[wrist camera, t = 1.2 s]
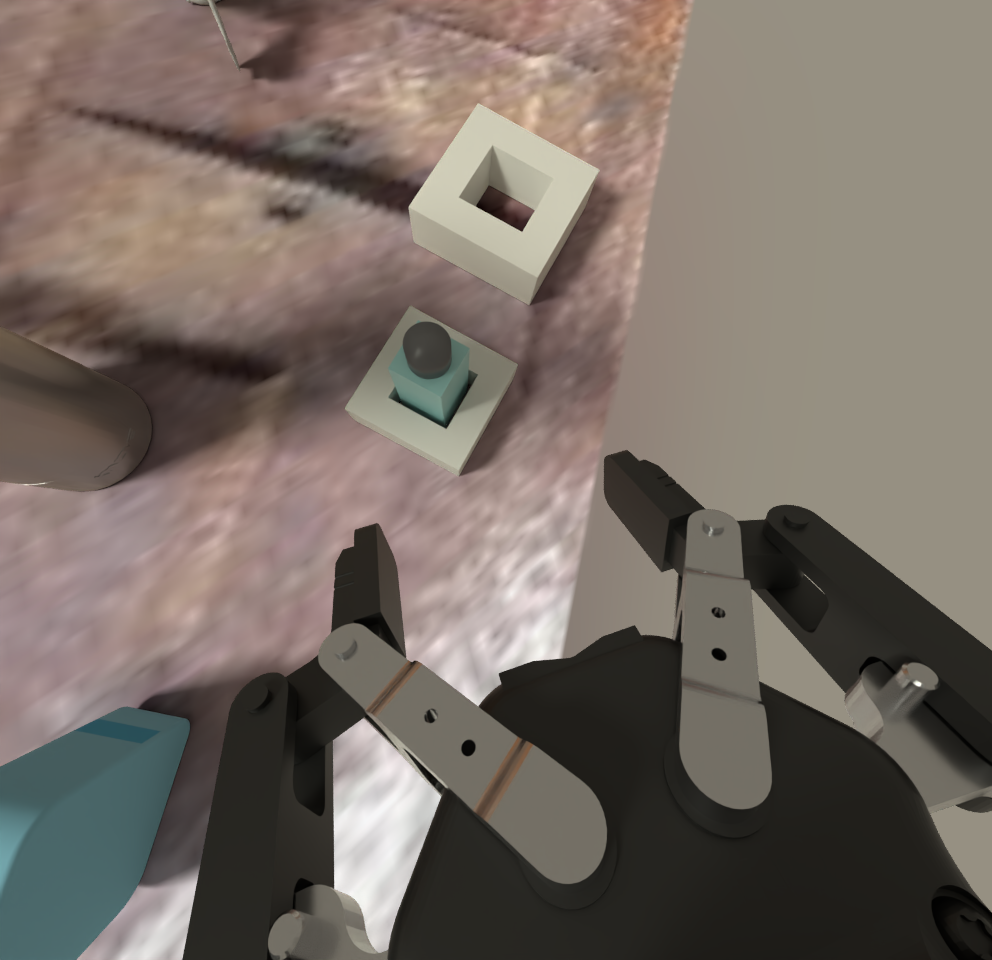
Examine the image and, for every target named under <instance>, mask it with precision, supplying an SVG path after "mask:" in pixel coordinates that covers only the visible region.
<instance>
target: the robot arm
mask: <svg viewBox="0 0 992 960" xmlns="http://www.w3.org/2000/svg"><path fill="white" fill-rule="evenodd" d="M151 433H152V424H151V417H150V414H149V411H148V409H147V406H146V404H145V403H144V402H143V400H142V399H141V398H140V396H139V395H138V394H136V393H135V392H134V391H133V390H132V389H131V388H129V387H127V386H125V385H123V384H121V383H119V382H117V381H115V380H113V379H111V378H109V377H107V376H105V375H102V374H100V373H98V372H96V371H94V370H92V369H90V368H88V367H85V366H83V365H82V364H80V363H77V362H75V361H73V360H71V359H69V358H67V357H65V356H63V355H60V354H58V353H56V352H54V351H52V350H50V349H48V348H46V347H43V346H41V345H39V344H37V343H35V342H33V341H31V340H29V339H26V338H24V337H22V336H20V335H18V334H16V333H14V332H11V331H9V330H7V329H5V328H3V327H1V326H0V482H7V483H14V484H21V485H29V486H36V487H44V488H52V489H59V490H67V491H78V492H84V491H93V490H98V489H101V488H105V487H108V486H110V485H112V484H114V483H116V482H118V481H120V480H122V479H123V478H124V477H126V476H127V475H128V474H129V473H131V472H132V471H133V470H134V469H135V468H136V466H137V465H138V464H139V463H140V462H141V460H142V459H143V457H144V455H145V453H146V452H147V450H148V446H149V443H150V440H151ZM604 494H605V498H606V500H607V503H608V505H609V506H610V508H611V509H612V510H613V511H614V513H615V514H616V515H617V516H618V518H619V519H620V520H621V522H622V523H623V524H624V525H625V527H626V528H627V529H628V530H629V532H630V533H631V534H632V535H633V537H634V538H635V539H636V541H637V542H638V543H639V544H640V546H641V547H642V548H643V549H644V551H645V552H646V553H647V554H648V556H649V557H650V558H651V560H652V561H653V562H654V563H655V565H656V566H657V567H658V568H659V570H660V571H661V572H664V571H667V570H670V569H673V568H674V569H675V570H676V572H677V573H678V578H677V589H676V601H675V615H674V628H673V636H672V639H670V638H666V637H660V636H652V635H640V633H639V631H638V630H637V628H636V627H635V626H631V627H629V628H626V629H623V630H620V631H617V632H614V633H612V634H609V635H606V636H603V637H601V638H600V639H599V640H597V641H596V642H594V643H593V644H591V645H590V646H588V647H587V648H586V649H584V650H583V651H581V652H580V653H578V654H577V655H576V656H574V657H571V658H566V659H553V660H542V661H532V662H530V663H527V664H524V665H521V666H518V667H515V668H513V669H510V670H507V671H504V672H501V673H499V677H500V680H501V685H499V686H498V687H497V688H495V689H494V690H493V691H492V692H491V693H490V694H488V695H487V696H486V698H485V699H484V700H483V701H482V702H481V704H480V705H479V707H478V706H477V705H475V704H474V703H473V702H471V701H470V700H469V699H467V698H466V697H465V696H464V695H462V694H461V693H460V692H458V691H457V690H456V689H454V688H453V687H452V686H450V685H449V684H448V683H447V682H445V681H444V680H443V679H441V678H440V677H439V676H437V675H436V674H435V673H433V672H432V671H431V670H430V669H428V668H427V667H426V666H424V665H423V664H421V663H420V662H418V661H413V662H410V661H409V660H407V659H406V651H405V641H404V631H403V621H402V611H401V601H400V591H399V581H398V571H397V566H396V562H395V559H394V556H393V553H392V551H391V549H390V547H389V545H388V542H387V540H386V538H385V536H384V534H383V531H382V529H381V527H380V525H379V524H378V523H376V524H373V525H369V526H366V527H363V528H359V529H356V530H355V532H354V547H350V548H347V549H344V550H343V551H342V552H341V554H340V556H339V558H338V560H337V562H336V567H335V582H334V588H335V590H334V598H333V614H332V630H331V634H330V635H329V636H328V637H327V638H326V639H325V640H324V642H323V643H322V645H321V647H320V650H319V654H318V655H317V656H316V657H315V658H314V659H313V660H312V661H310V662H309V663H307V664H306V665H304V666H303V667H301V668H299V669H298V670H296V671H295V672H293V673H292V674H290V675H288V676H287V677H284V676H283V675H281V674H279V673H267V674H263V675H261V676H259V677H257V678H255V679H254V680H252V681H251V682H249V683H248V684H247V685H246V686H245V687H244V688H243V689H242V690H241V691H240V692H239V694H238V695H237V696H236V698H235V700H234V701H233V703H232V706H231V708H230V712H229V717H228V723H227V728H226V733H225V738H224V744H223V749H222V754H221V759H220V765H219V770H218V775H217V780H216V786H215V791H214V796H213V802H212V807H211V812H210V817H209V823H208V828H207V833H206V838H205V844H204V849H203V854H202V860H201V865H200V870H199V875H198V881H197V886H196V891H195V896H194V902H193V907H192V912H191V917H190V923H189V928H188V933H187V939H186V944H185V949H184V954H183V960H992V912H991V911H990V910H989V909H988V908H987V907H986V906H985V905H984V903H983V902H982V901H981V900H980V898H979V897H978V896H977V895H976V894H975V892H974V891H973V890H972V888H971V887H970V885H969V884H968V882H967V881H966V879H965V878H964V877H963V875H962V873H961V872H960V870H959V869H958V867H957V865H956V864H955V862H954V860H953V859H952V857H951V855H950V854H949V852H948V850H947V849H946V847H945V845H944V843H943V841H942V839H941V837H940V835H939V833H938V831H937V829H936V826H935V825H934V822H933V820H932V817H931V815H930V814H931V813H933V812H937V811H939V810H942V809H945V808H948V807H951V806H954V805H956V806H958V807H960V808H962V809H965V810H968V811H972V812H979V813H983V812H989V811H992V651H991V650H990V649H989V648H988V647H986V646H985V645H984V644H982V643H981V642H980V641H979V640H977V639H976V638H975V637H974V636H972V635H971V634H969V633H968V632H967V631H966V630H965V629H963V628H962V627H961V626H959V625H958V624H957V623H955V622H954V621H953V620H952V619H950V618H949V617H948V616H946V615H945V614H944V613H943V612H941V611H940V610H939V609H938V608H936V607H935V606H934V605H932V604H931V603H930V602H929V601H927V600H926V599H925V598H923V597H922V596H921V595H920V594H918V593H917V592H916V591H914V590H913V589H912V588H911V587H909V586H908V585H907V584H905V583H904V582H903V581H902V580H900V579H899V578H898V577H896V576H895V575H894V574H893V573H891V572H890V571H889V570H887V569H886V568H885V567H884V566H882V565H881V564H880V563H878V562H877V561H876V560H875V559H873V558H872V557H871V556H869V555H868V554H867V553H865V552H864V551H863V550H862V549H860V548H859V547H858V546H856V545H855V544H854V543H852V542H851V541H850V540H848V538H846V537H845V536H844V535H842V534H841V533H840V532H838V531H837V530H836V529H835V528H833V527H832V526H831V525H830V524H828V523H827V522H826V521H824V520H823V519H822V518H821V517H819V516H818V515H816V514H815V513H814V512H812V511H810V510H808V509H805V508H802V507H799V506H794V505H780V506H776V507H773V508H772V509H771V510H769V512H768V513H767V517H766V519H765V520H748V521H736V520H735V519H734V518H733V517H731V516H730V515H728V514H726V513H724V512H721V511H717V510H711V509H705V508H704V507H703V506H702V505H700V504H699V503H698V502H697V501H696V500H695V499H694V498H693V497H692V496H691V495H690V494H688V493H687V492H686V491H685V490H684V489H683V488H682V487H681V486H680V485H679V484H676V482H675V480H673V479H672V478H671V477H669V476H668V474H667V473H666V472H665V471H664V470H663V469H661V468H660V467H659V466H658V465H656V464H653V463H651V462H649V461H647V460H642V461H638V460H637V458H635V457H634V456H633V455H632V454H631V453H630V452H629V451H627V450H625V451H622V452H618V453H615V454H611V455H608V456H606V457H605V459H604ZM804 574H805V575H806V576H807V577H809V578H810V579H811V580H812V581H813V582H814V583H815V584H816V585H817V586H818V587H819V588H820V589H821V590H822V591H823V592H824V593H825V594H824V593H823V592H821V591H820V590H819V589H818V588H817V587H816V586H815V585H814V584H813V583H812V582H811V581H810V580H809V579H808V578H807V577H806V576H805V575H804ZM751 589H753V590H754V591H755V592H756V593H757V594H758V596H759V597H760V598H761V599H762V600H763V601H764V602H765V603H766V604H767V606H768V607H769V608H770V609H771V610H772V611H773V612H774V613H775V615H776V616H777V617H778V618H779V619H780V620H781V621H782V622H783V624H784V625H785V626H786V627H787V628H788V629H789V630H790V631H791V633H792V634H793V635H794V636H795V637H796V638H797V639H798V640H799V642H800V643H801V644H802V645H803V646H804V647H805V648H806V649H807V650H808V652H809V653H810V654H811V655H812V656H813V657H814V658H815V659H816V661H817V662H818V663H819V664H820V665H821V666H822V667H823V668H824V669H825V671H826V672H827V673H828V674H829V675H830V676H831V677H832V679H833V680H834V681H835V682H836V683H837V684H838V685H839V686H840V687H841V689H843V691H844V692H845V693H846V694H845V700H844V701H845V706H846V709H847V712H848V713H849V715H850V717H851V718H852V720H853V725H854V728H855V729H853V728H851V727H850V726H848V725H846V724H844V723H842V722H840V721H838V720H836V719H834V718H832V717H830V716H828V715H826V714H824V713H822V712H820V711H818V710H816V709H814V708H812V707H810V706H808V705H806V704H804V703H802V702H800V701H798V700H796V699H793V698H792V697H790V696H788V695H786V694H784V693H782V692H779V691H778V690H775V689H774V688H772V687H769V686H768V685H766V684H764V683H762V682H760V681H759V676H758V665H757V653H756V641H755V630H754V619H753V606H752V595H751ZM363 718H364V719H365V720H366V721H367V722H368V723H369V724H370V725H371V726H372V727H373V728H374V729H375V730H376V731H377V732H378V733H379V734H380V735H381V736H382V737H383V738H384V739H385V740H386V741H387V742H388V743H389V744H390V745H391V746H392V747H393V748H394V749H395V750H396V751H397V752H398V753H399V754H401V756H402V757H403V758H404V759H405V760H406V761H407V762H408V763H409V764H410V765H411V766H412V767H413V768H414V769H415V771H416V772H417V773H418V774H419V775H420V776H421V777H422V778H423V779H424V780H425V781H426V782H427V783H428V784H429V785H430V786H431V787H432V788H433V789H434V790H435V791H436V792H437V793H438V794H439V795H440V796H441V799H440V802H439V804H438V807H437V810H436V812H435V815H434V818H433V820H432V823H431V826H430V828H429V831H428V833H427V836H426V839H425V841H424V844H423V847H422V849H421V852H420V855H419V857H418V860H417V862H416V865H415V868H414V870H413V873H412V876H411V878H410V881H409V884H408V886H407V889H406V892H405V894H404V897H403V899H402V902H401V905H400V907H399V910H398V913H397V916H396V919H395V922H394V925H393V929H392V933H391V938H390V943H389V949H388V950H387V951H385V952H382V953H378V952H377V951H376V950H375V949H374V948H373V947H372V945H371V943H370V941H369V939H368V937H367V934H366V929H365V924H364V918H363V914H362V911H361V908H360V906H359V904H358V903H357V902H356V901H355V899H353V898H352V897H351V896H349V895H347V894H344V893H342V892H340V891H338V890H335V889H334V821H333V740H334V739H335V738H337V737H338V736H339V735H341V734H342V733H343V732H345V731H346V730H348V729H349V728H350V727H352V726H353V725H354V724H356V723H357V722H358V721H360V720H361V719H363Z"/></svg>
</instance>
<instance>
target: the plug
mask: <svg viewBox="0 0 992 960" xmlns="http://www.w3.org/2000/svg"><path fill="white" fill-rule="evenodd" d="M469 353H470V348H468V347H467V346H465V345H463V344H461V343H459V342H457V341H456V340H454V339H452V338H450V336H449V334H448V333H447V331H446V330H445V329H444V328H443V327H442V326H440V325H439V324H436V323H434V322H421V321H419V320H418V321H417V322H416V324H414V325H413V326H411V327H410V328H409V329H408V330H407V332H406V333H405V335H404V338H403V345H402V346H401V348H400V350H399V351H398V353H397V354H396V356H395V358H394V359H393V361H392V362H391V364H390V366H389V367H388V370H389V372H390V375H391V377H392V380H393V382H394V385H395V387H396V390H397V392H398V394H399V397H400V399H401V402H402V404H403V406H405V407H406V408H408V409H410V410H412V411H414V412H416V413H418V414H419V415H421V416H423V417H425V418H427V419H429V420H430V421H432V422H434V423H436V424H438V425H440V426H442V427H443V428H445V429H446V427H447V425H448V423H449V422H450V420H451V418H452V416H453V415H454V413H455V411H456V410H457V408H458V406H459V404H460V403H461V401H462V399H463V397H464V396H465V394H466V392H467V387H468V370H469Z"/></svg>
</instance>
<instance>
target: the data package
mask: <svg viewBox="0 0 992 960" xmlns="http://www.w3.org/2000/svg"><path fill="white" fill-rule="evenodd" d="M189 732H190V723H189V721H188V719H186V718H181V717H176V716H171V715H166V714H161V713H156V712H151V711H146V710H141V709H136V708H131V707H122V708H119V709H117V710H115V711H113V712H111V713H109V714H107V715H105V716H103V717H101V718H99V719H97V720H95V721H93V722H90V723H88V724H86V725H84V726H82V727H80V728H78V729H76V730H74V731H72V732H70V733H68V734H66V735H64V736H62V737H60V738H58V739H56V740H54V741H52V742H50V743H48V744H46V745H44V746H42V747H40V748H38V749H35V750H33V751H31V752H29V753H27V754H25V755H23V756H21V757H19V758H17V759H15V760H13V761H11V762H9V763H7V764H5V765H3V766H1V767H0V960H77V958H78V957H79V956H80V955H81V954H82V953H83V952H84V951H85V950H86V949H87V947H88V946H89V945H90V944H91V943H92V942H93V941H94V940H95V939H96V938H97V937H98V935H99V934H100V933H101V932H102V931H103V930H104V929H105V928H106V927H107V926H108V925H109V923H110V922H111V921H112V920H113V919H114V918H115V917H116V916H117V915H118V914H119V912H120V911H121V910H122V909H123V908H124V906H125V905H126V904H127V902H128V901H129V899H130V898H131V896H132V894H133V893H134V891H135V889H136V887H137V886H138V884H139V882H140V880H141V877H142V875H143V873H144V870H145V867H146V864H147V861H148V858H149V855H150V852H151V849H152V846H153V843H154V839H155V836H156V833H157V830H158V827H159V824H160V821H161V818H162V815H163V812H164V809H165V806H166V803H167V800H168V797H169V794H170V791H171V787H172V784H173V781H174V778H175V775H176V772H177V769H178V766H179V763H180V760H181V757H182V754H183V751H184V748H185V745H186V742H187V739H188V735H189Z"/></svg>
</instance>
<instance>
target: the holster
mask: <svg viewBox="0 0 992 960" xmlns="http://www.w3.org/2000/svg"><path fill="white" fill-rule="evenodd" d="M418 320H419V321H421V322H434V323H436V324H439V325H440V326H442V327H443V328H444V329H445V330H446V331H447V333H448V334H449V336H450V338H452V339H454V340H456V341H457V342H459V343H461V344H463V345H465V346H467V347H468V348H470V353H469V370H468V384H470V385H471V388H470V390H469V391H468V393H467V395H466V397H465V398H464V400H463V402H462V404H461V405H460V407H459V409H458V410H457V412H456V414H455V416H454V417H453V419H452V421H451V423H450V424H449V426H448V428H447V429H445V428H443V427H442V426H440V425H438V424H436V423H434V422H432V421H430V420H429V419H427V418H425V417H423V416H421V415H419V414H418V413H416V412H414V411H412V410H410V409H408V408H406V407H405V406H403V405H401V404H399V403H398V402H399V401H400V397H399V394H398V392H397V390H396V387H395V385H394V382H393V380H392V377H391V375H390V372H389V370H388V367H389V366H390V364H391V362H392V361H393V359H394V358H395V356H396V354H397V353H398V351H399V350H400V348H401V346H402V345H403V338H404V335H405V333H406V332H407V330H408V329H409V328H410V327H411V326H413V325H414V324H416V322H417V321H418ZM517 366H518V364H517V363H515V362H513V361H511V360H509V359H507V358H505V357H504V356H502V355H500V354H498V353H496V352H494V351H493V350H491V349H489V348H487V347H485V346H483V345H482V344H480V343H478V342H476V341H474V340H472V339H471V338H469V337H467V336H465V335H463V334H461V333H460V332H458V331H456V330H454V329H452V328H450V327H449V326H447V325H445V324H443V323H441V322H439V321H438V320H436V319H434V318H432V317H430V316H428V315H427V314H425V313H423V312H421V311H419V310H417V309H416V308H414V307H412V306H409V308H408V309H407V311H406V312H405V314H404V316H403V317H402V319H401V320H400V322H399V323H398V325H397V327H396V328H395V330H394V331H393V333H392V334H391V336H390V338H389V339H388V341H387V342H386V344H385V345H384V347H383V349H382V350H381V352H380V353H379V355H378V356H377V358H376V360H375V361H374V363H373V364H372V366H371V367H370V369H369V371H368V372H367V374H366V375H365V377H364V379H363V380H362V382H361V383H360V385H359V386H358V388H357V390H356V391H355V393H354V394H353V396H352V397H351V399H350V401H349V402H348V404H347V405H346V407H345V408H344V409H345V410H346V411H347V412H348V413H349V414H350V416H351V417H352V418H353V419H354V420H355V421H357V422H359V423H361V424H363V425H365V426H366V427H368V428H370V429H372V430H374V431H376V432H377V433H379V434H381V435H383V436H385V437H387V438H389V439H390V440H392V441H394V442H396V443H398V444H400V445H401V446H403V447H405V448H407V449H409V450H411V451H413V452H414V453H416V454H418V455H420V456H422V457H424V458H426V459H427V460H429V461H431V462H433V463H435V464H437V465H438V466H440V467H442V468H444V469H446V470H448V471H450V472H451V473H453V474H455V475H457V476H459V475H460V473H461V472H462V470H463V468H464V466H465V465H466V463H467V461H468V459H469V457H470V456H471V454H472V452H473V450H474V448H475V447H476V445H477V443H478V441H479V439H480V438H481V436H482V434H483V432H484V430H485V429H486V427H487V425H488V423H489V422H490V420H491V418H492V416H493V414H494V413H495V411H496V409H497V407H498V405H499V404H500V402H501V400H502V398H503V396H504V395H505V393H506V391H507V389H508V388H509V386H510V384H511V382H512V380H513V378H514V375H515V372H516V369H517Z"/></svg>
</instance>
